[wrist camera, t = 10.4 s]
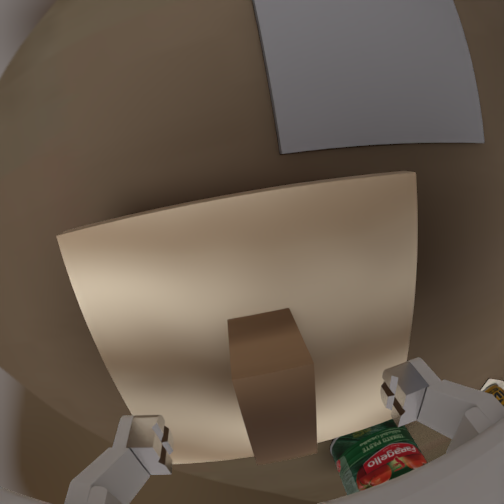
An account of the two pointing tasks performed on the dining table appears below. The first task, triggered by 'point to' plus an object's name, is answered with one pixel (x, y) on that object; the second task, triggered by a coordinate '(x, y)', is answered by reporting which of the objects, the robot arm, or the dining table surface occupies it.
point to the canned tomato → (375, 455)
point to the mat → (368, 73)
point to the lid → (254, 311)
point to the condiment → (495, 389)
